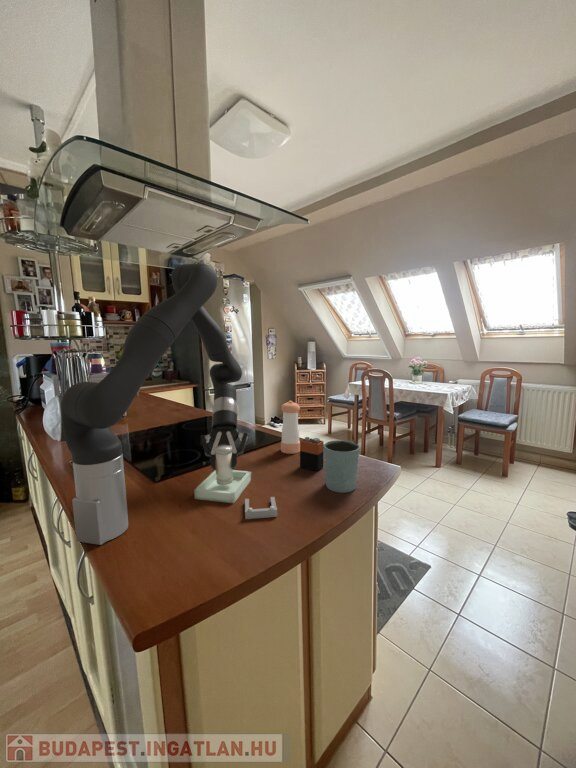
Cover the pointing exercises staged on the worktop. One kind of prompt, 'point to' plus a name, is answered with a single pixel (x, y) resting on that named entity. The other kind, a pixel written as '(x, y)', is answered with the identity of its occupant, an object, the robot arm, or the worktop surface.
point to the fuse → (224, 464)
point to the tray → (223, 487)
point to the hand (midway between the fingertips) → (223, 468)
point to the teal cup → (341, 465)
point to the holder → (260, 511)
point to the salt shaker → (290, 428)
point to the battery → (311, 453)
